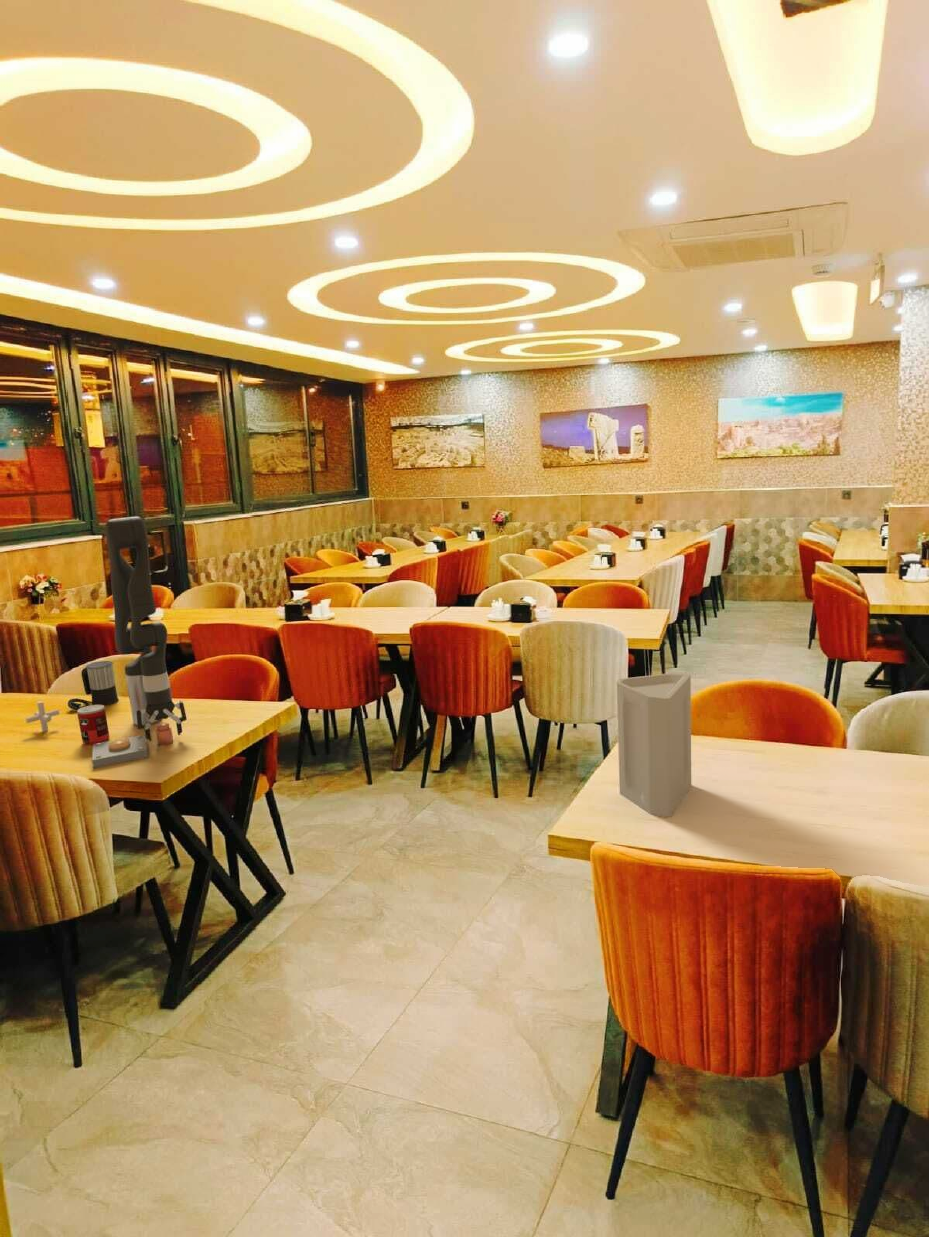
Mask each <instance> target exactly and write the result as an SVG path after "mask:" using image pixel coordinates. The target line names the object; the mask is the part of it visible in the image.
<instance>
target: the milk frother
mask: <svg viewBox="0 0 929 1237" xmlns="http://www.w3.org/2000/svg"><path fill="white" fill-rule="evenodd" d="M113 665H114V662H113V661H111V660H110V661H109V660H104V661H102V660H101V661H96V662H95V661H94V662H91V663H89V664H86V665H85V667H83V669H82V670H81V673H80V674H81V679H82V683H83V684H82V685H83V688H84V692H85V695H87V696H88V695H91V701H89V700H86V699H81V698H71V699H68V701H67V706H68V707H69V709H72V710H73V711H76V712H77V710H78V709H80V708H83V707H86V706H90V705H89V703H90V704H91V705H103V706H104V707H105V706H109V705H112V704H116V703H118V702H119V701H120V700H119V697H118V692H117V688H116V686H117V685H116V680H115V672H114V666H113ZM82 704H83V706H81V705H82Z"/></svg>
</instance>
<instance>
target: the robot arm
mask: <svg viewBox="0 0 929 1237" xmlns="http://www.w3.org/2000/svg"><path fill="white" fill-rule="evenodd" d="M104 528H105V529H104V530H105V531H104V532H105V538H106V544H107V551H108V556H109V566H110V578H111V579H110V581H111V582H110V583H111V584H110V585H111V596H112V603H113V610H114V643H115V648H116V650H117V652H118V653H119V654H121V655H131V654H137V653H140V655H139V656H138V657H137V658H136V659H133V660H132V661H130V662H129V663H127V664H126V665H125V666H124V672H125V681H126V685H127V692H128V698H129V704H130V705H129V706H130V709H131V710H130V711H131V715H132V721H133V722H132V723H133V724H134V725H137V729H139V730H144V732H145V734H144V735H145V738H146V740H148V741H149V742H150V741H152V740H153V739H152V735H151V730H150V728H151V725H152V724H154V723H157V722H159V721H161V720H167V719H168V718H170V719H172V720H173V722H175V725H176V731H177V735H178V736H181V734H182V733H183V729H182V728H183V727H182V722H184V721H187V713H186V708H185V704H184V701H183V700H179V701H178V702H173V698H172V697H173V696H172V692H171V690H172V689H171V683H170V680H169V679H170V678H169V675H168V670H167V665H166V664H167V662H166V648H167V642H168V630H167V627H166V626H165V624H164V623H162V622H160V621H155V622H150V623H142V621H143V619H144V618H146V617H150V616H151V615H153V614H155V613H156V612H157V607H156V602H155V598H154V591H153V588H152V587H153V586H152V581H151V567H150V566H151V565H150V555H149V543H148V534H147V528H146V525H145V522H144V520H143V519H142V517H140V516H129V517H119V518H112V519H108V520H107V522H106V524H105V527H104ZM134 548H135V549H137V550H136V551H137V557H136V563H135V566H134V567H133V566H132V565H131V564H130V563H129V562H128V561H127V560H126V558H125V557H124V556H123V554H122V553H121V550H125V549H127V550H128V549H134ZM130 620H131V623H130ZM129 623H130V625H129ZM152 647H154V649H153V648H152ZM175 708H176V709H177V710H180V715H181V716H180V717H179V716H178V715H177V714H175V713H174V709H175Z"/></svg>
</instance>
